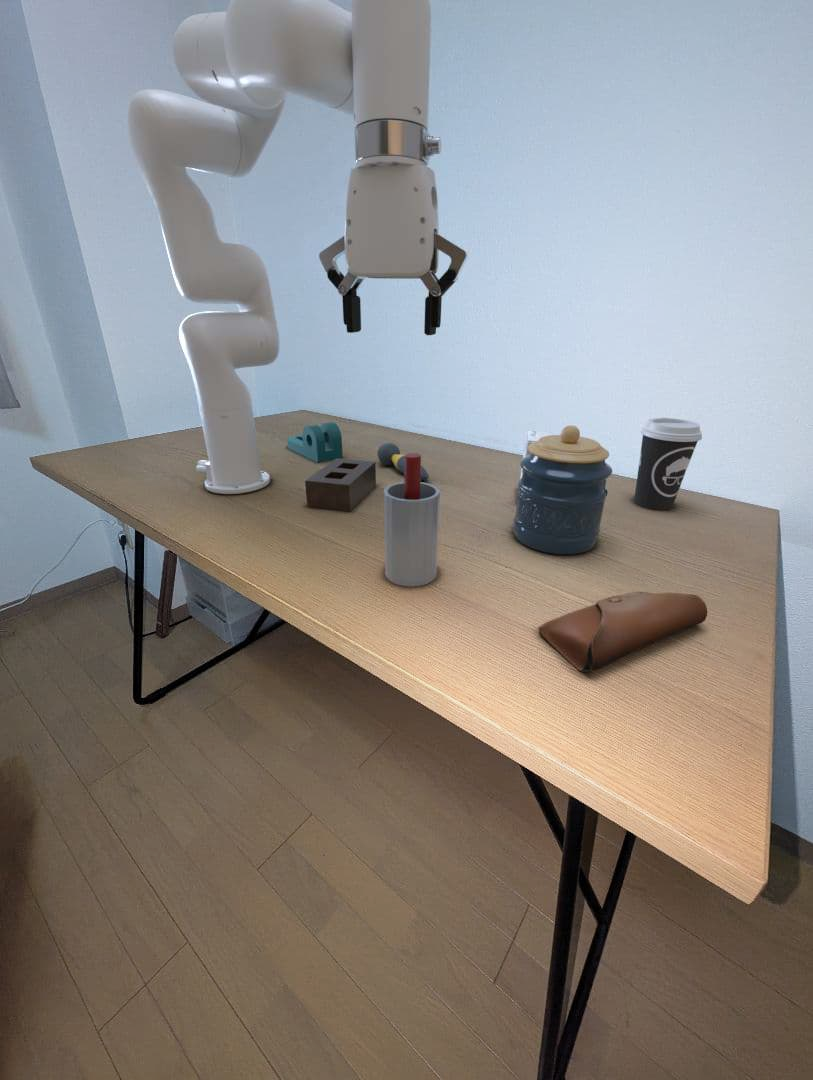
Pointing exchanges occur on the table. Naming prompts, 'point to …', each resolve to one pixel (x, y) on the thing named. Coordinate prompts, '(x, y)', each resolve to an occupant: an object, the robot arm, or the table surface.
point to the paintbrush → (395, 458)
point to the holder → (341, 484)
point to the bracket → (318, 442)
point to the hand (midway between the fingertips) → (391, 333)
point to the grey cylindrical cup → (411, 535)
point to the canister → (562, 493)
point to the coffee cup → (664, 460)
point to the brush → (412, 476)
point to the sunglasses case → (621, 626)
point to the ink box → (533, 437)
